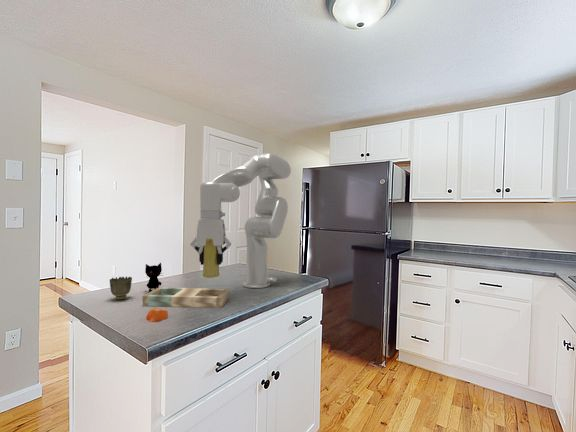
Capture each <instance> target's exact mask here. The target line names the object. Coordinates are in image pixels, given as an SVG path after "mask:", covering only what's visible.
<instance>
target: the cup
mask: <svg viewBox="0 0 576 432" xmlns="http://www.w3.org/2000/svg"><path fill="white" fill-rule="evenodd" d="M132 282H133V277H132V276H119V277H112V278H110V279H109V287H110V293H111V295H113V296H114V299H115V300H116V301H124V300H125V299H127V295H128V294H129V293H130V291H131V287H132Z"/></svg>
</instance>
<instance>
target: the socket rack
mask: <svg viewBox="0 0 576 432" xmlns="http://www.w3.org/2000/svg"><path fill="white" fill-rule="evenodd" d="M229 299H230V288H229V289H228V288H205V287H204V288H201V287H199V288H197V287H163V286H162V287H161V286H159V287H158V288H156V289H155V290H154V289H152V291H151V292H149V293H148V292H147V293H146V294H144V295H142V307H166V308H167V307H169V308H170V307H172V308H174V307H175V308H205V309H206V308H207V309H211V308H212V309H213V308H215V309H222V308H223V307H224V305H225V304H226V303H227V302H228V300H229Z"/></svg>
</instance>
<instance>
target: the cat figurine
mask: <svg viewBox="0 0 576 432" xmlns="http://www.w3.org/2000/svg"><path fill="white" fill-rule="evenodd" d="M162 269H163V268H162V262H159V264H157V265H155V264H154V265H149V264H147V263H146V264H145V271H144V272H145V275H146V278H149V280H148V282H147V284H146V287H147V288H148V292H147V293H149V292H151V291H153V290H155V289H156V288H158V287H161V286H162V284H163V283H162V282H161V281H160V280H159V278H158V277H159V276H161V277H162V276H164V274H163V273H165V272H162Z"/></svg>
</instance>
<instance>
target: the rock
mask: <svg viewBox="0 0 576 432" xmlns="http://www.w3.org/2000/svg"><path fill="white" fill-rule="evenodd" d="M168 315H169V311H168V310H167V309H158V308H156V307H154V308H153V307H152V308H151V309H150V310H149V311H148V313H147V315H146V317H145V319H146V320H147V321H148V322H150V323H157V322H160V321H164V320H167V318H168Z"/></svg>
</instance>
